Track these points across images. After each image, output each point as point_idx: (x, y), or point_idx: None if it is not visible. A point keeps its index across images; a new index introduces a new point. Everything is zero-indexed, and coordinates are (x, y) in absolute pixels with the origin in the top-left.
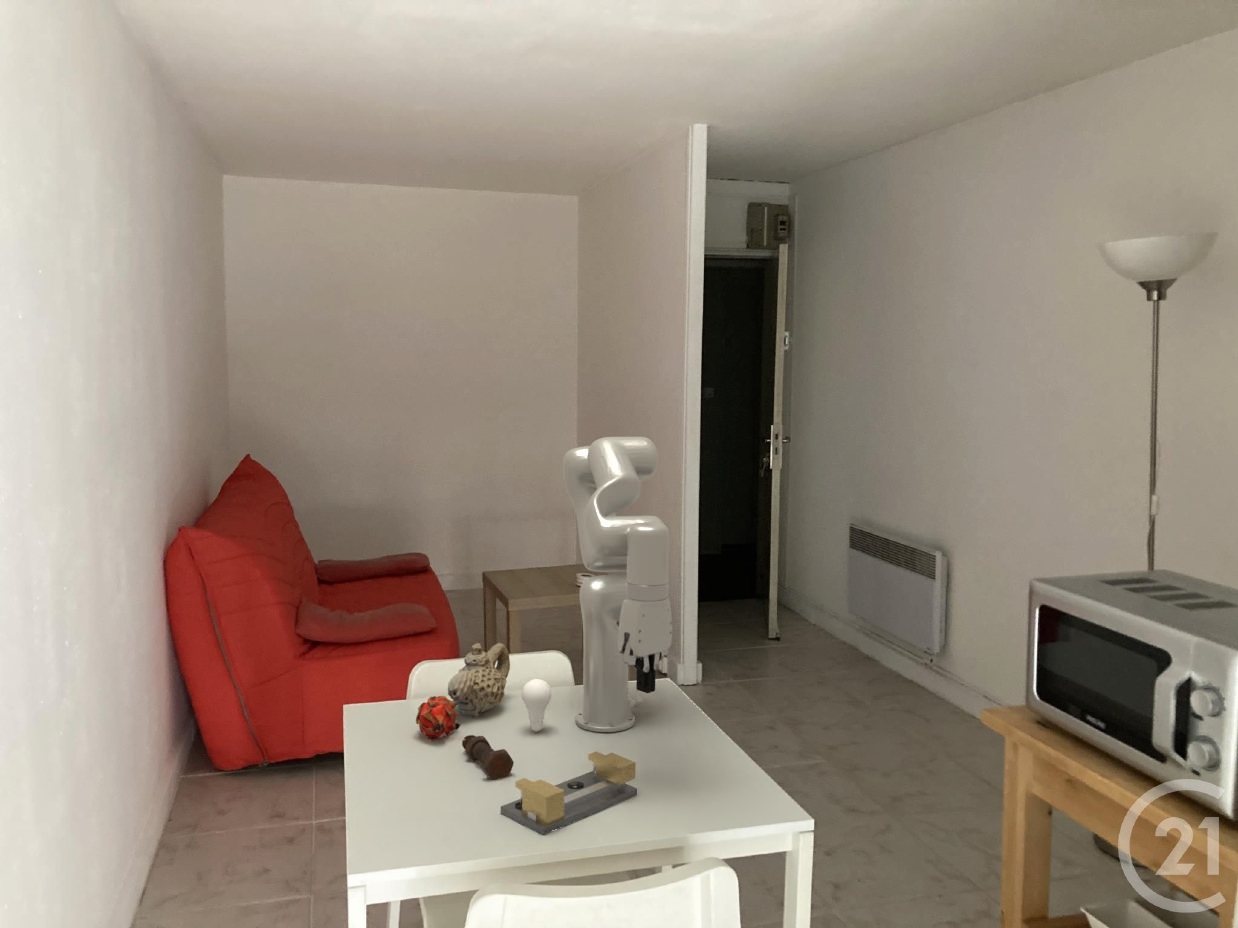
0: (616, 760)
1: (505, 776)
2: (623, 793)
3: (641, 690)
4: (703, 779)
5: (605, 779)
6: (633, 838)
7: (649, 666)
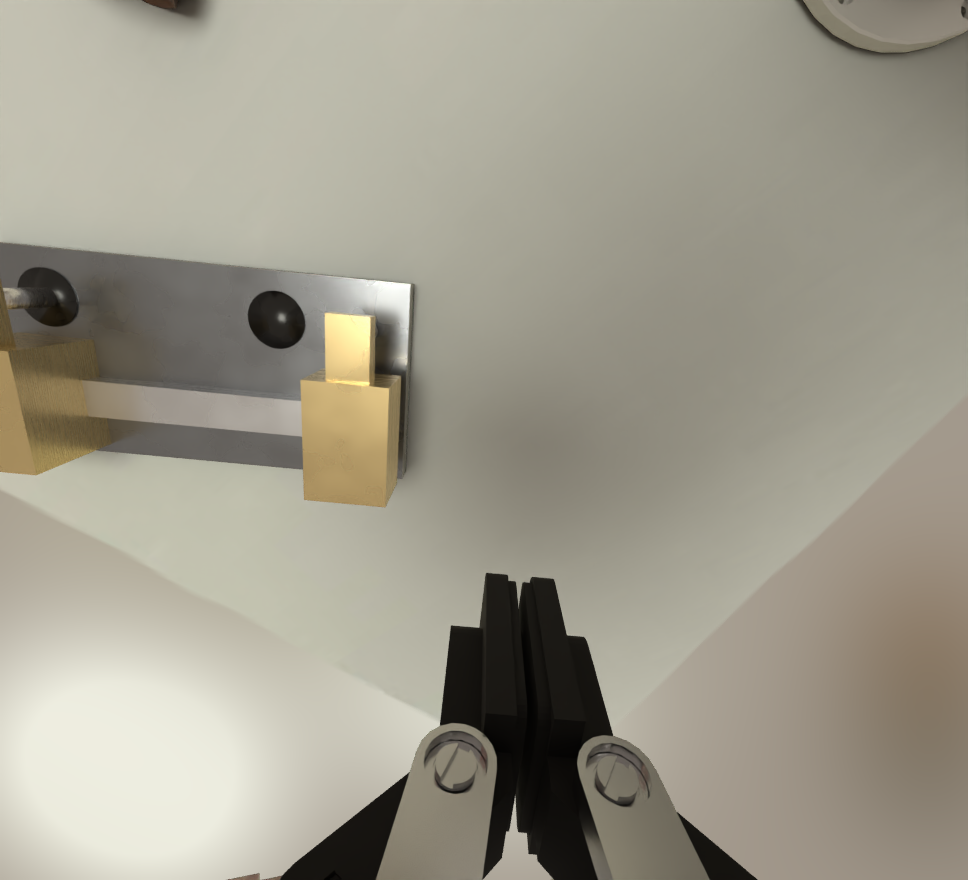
0: (346, 448)
1: (162, 6)
2: None
3: (481, 614)
4: (612, 544)
5: (381, 365)
6: (221, 599)
7: (544, 848)
